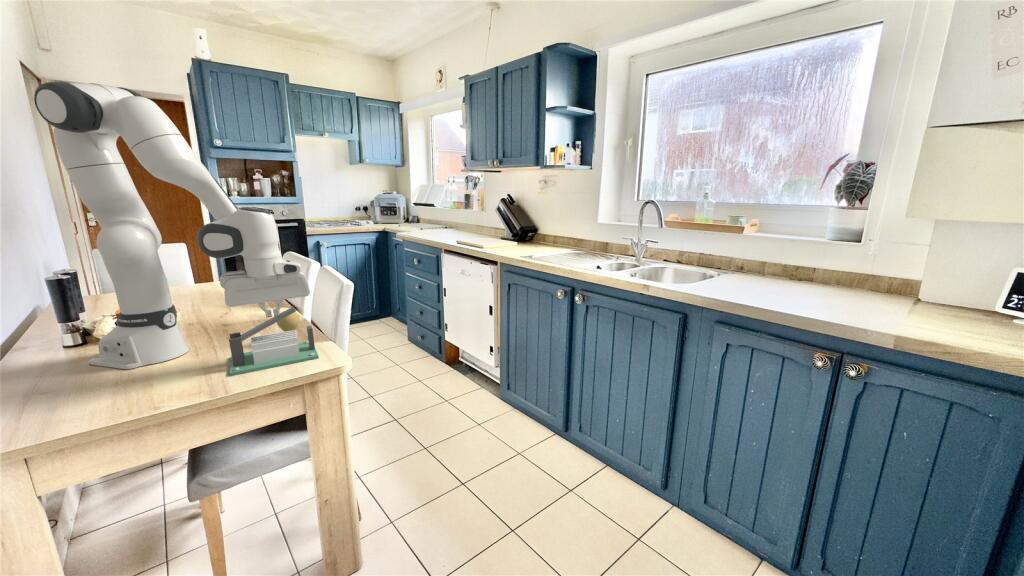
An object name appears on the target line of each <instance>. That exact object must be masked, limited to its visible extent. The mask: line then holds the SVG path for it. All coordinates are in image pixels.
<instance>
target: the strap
mask: <svg viewBox="0 0 1024 576" xmlns="http://www.w3.org/2000/svg"><path fill="white" fill-rule="evenodd" d="M294 312H296V313H297V310H296V308H295V307H294V306H291V307H289V308H287V309H286V310H284V312H283V311H281V312H280V316H272V317H270V319H268V320H266V321H264V322H262V323H261V324H259V325H256V326H255V327H253V328H251V329H249V330H247V331H246V332H243V333H241V335H240V336H238V338H239V337H240V341H241V342H242V343H243V341H245V340H247V339H248V338H251V337H253V336H254V335H256V334H258V333H260V332H261V331H263V330H265V329H266V328H268V327H271V326H272V325H274V324H277V322H278V321H280V320H281V319H283V318H285V317H287V316H289V315H290V314H292V313H294Z"/></svg>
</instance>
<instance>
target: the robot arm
mask: <svg viewBox="0 0 1024 576" xmlns="http://www.w3.org/2000/svg"><path fill="white" fill-rule="evenodd" d="M33 101H34V105H35V108H36V111H37V112H38V114H39V115H40V117H41V118H43V120H44V121H45V122H47V123H48V124H49V125H50V126H52V127H53V131H52V135H53V139H54V143H55V146H56V150H57V153H58V155H59V157H60V160H61V163H62V164H63V166H64V169H65V170H66V172H67V175H68V176H69V179H70V181H71V183H72V185H73V187H74V189H75V190H76V192H77V194H78V197H79V198H80V201H81V202H82V203H83V205H84V206H85V207H86V208H87V210H89V212H90V214H91V215H92V216H93V217H94V219H95V220H96V221H97V223H98V225H99V226H100V228H101V230H99V232H98V234H97V237H96V247H97V250H98V251H99V254H100V257H101V258H102V261H103V264H104V267H105V269H106V272H107V274H108V275H109V277H110V279H111V283H112V284H113V288H114V292H115V296H116V300H117V304H118V307H119V313H116V314H113V315H111V317H113V318H112V320H116V319H117V322H116V326H115V327H113V329H112V330H110V331H109V332H108V333H107V334H105V335H104V336H103V337H102V338H101V339H99V342H98V346H97V347H98V354H97V355H95V356H94V357H91V358H90V359H89V360H88V364H89V365H92V366H99V367H105V368H114V369H120V370H122V369H123V370H131V369H135V368H139V367H142V366H143V367H144V366H147V365H153V364H159V363H162V362H166V361H169V360H173V359H175V358H178V357H181V356H182V355H185V354H186V353H188V352H189V350H190V348H189V346H188V343H187V340H186V339H185V338H184V336H183V333H182V330H181V327H180V324H179V321H178V320H177V317H178V315H177V309H176V306H175V305H174V304H173V301H172V296H171V291H170V287H169V283H168V277H167V276H166V273H165V271H164V268H163V265H162V261H161V259H160V254H159V252H158V251H159V249H160V248H161V245H162V242H163V241H162V240H163V239H162V238H163V237H162V234H161V232H160V230H159V228H158V227H157V226H158V225H156V222H155V220H154V219H153V217H152V215H151V213H150V211H149V209H148V208H147V206H146V204H145V202H144V201H143V200H142V198H141V196H140V194H139V192H138V189H137V188H136V186H135V184H134V181H133V179H132V177H131V175H130V173H129V170H128V168H127V166H126V164H125V162H124V160H123V157H122V156H121V153H120V151H119V149H118V146H117V141H118V138H119V137H121V138H122V140H123V141H124V142H125V143H126V146H127V147H128V148H129V150H130V151H131V153H132V154H133V155H134V157H135V158H136V159H137V161H138V162H139V163H140V165H141V166H142V167H143V168H144V169H145V170H146V171H147V172H148V173H149V174H150V175H152V176H153V177H154V178H156V179H157V180H158V179H159V180H161V181H163V182H166V183H169V184H172V185H174V186H177V187H180V188H182V189H185V190H187V191H188V192H190V193H191V194H192V195H194V196H195V197H196V198H198V200H199V201H200V202H201V204H203V206H204V207H205V208H206V209H207V210H208V212H209V213H210V214H211V215H212V216H213V218H214V219H215V220H214V221H212V222H209V223H207V224H204V225H202V226H200V228H199V229H198V231H197V234H196V242H197V247H199V249H200V250H201V251H202V253H204V254H205V255H206V256H208V257H210V258H214V259H228V258H231V257H236V256H239V255H240V256H242V258H243V262H244V269H241V270H240V269H239V270H235V271H234V270H233V271H225V273H222V274H221V275H220V277H219V285H220V286H221V288H223V290H224V303H225V305H226V306H227V307H228V308H234V307H239V306H247V305H254V304H258V307H259V308H260V309H261V310H262V311H263V312H264V314H265V318H273V317H275V316H280V313H281V312H280V310H281V308H282V306H283V303H284V302H283V300H290V299H298V298H306V297H309V295H311V288H310V285H309V282H308V279H307V278H308V277H307V276H306V274H305V273H304V272H303V271H302V270H303V269H302V265H301V264H300V262H298V261H293V260H289V259H283V256H282V252H281V251H280V248H279V244H280V238H279V234H278V232H279V231H278V228H277V224H276V220H275V217H274V215H273V213H271V212H270V211H269V210H268V209H265V208H260V207H249V206H242V207H238V206H237V205H236V204H235V202H233V200H232V199H231V197H230V195H229V194H227V192H226V191H225V189H224V188H223V187H222V186H221V184H220V183H219V181H218V180H217V179H216V178H215V177H214V176H213V174H211V172H210V171H209V170H208V169H207V167H206V166H205V165H204V163H202V161H201V160H200V159H199V157H198V156H197V155H196V153H195V152H194V150H193V149H192V148H191V146H190V145H189V143H188V142H187V140H186V138H185V137H184V135H182V132H180V130H179V129H178V127H177V126H176V125H175V123H174V122H173V121H172V120H171V119H170V117H169V116H168V115H167V114H166V113H165V112H164V111H163V109H162V108H161V107H159V106H158V104H157V103H156V102H154V101H153V100H151V99H150V98H147V97H145V96H143V95H142V94H140V93H139V92H137V91H134V90H131V89H129V88H125V87H121V86H119V87H116V86H112V85H106V84H102V83H101V84H100V83H95V82H89V83H84V82H67V81H62V80H61V81H47V82H44V83H41V84H39V85H38V86H37V87H36V89H35V91H34V97H33ZM269 302H276V304H277V306H276V308H273V309H268V308H267V307H266V303H269ZM272 312H273V314H272Z"/></svg>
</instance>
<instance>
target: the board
mask: <svg viewBox="0 0 1024 576" xmlns="http://www.w3.org/2000/svg"><path fill="white" fill-rule="evenodd" d="M306 331H307V332H306V333H307V340H305V341H302V342H299V340H298V339H297V337H298V334H297V335H296V333H295V330H292V331H286V332H284V331H280V332H275V333H274V332H273V333H269V334H262V335H257V336H251V337H250V342H251V343H250V344H251V346H250V347H251V351H246V352H245V351H244V347H243V341H242V342H241V341H240V337H239V338H238V336H240V335H242V333H241V332H232V333H229V339H228V342H229V348H230V353H231V354H230V355H231V356H230V364H229V376H230V377H233V376H237V375H242V374H248V373H253V372H259V371H263V370H267V369H272V368H278V367H282V366H287V365H291V364H292V365H294V364H298V363H302V362H307V361H312V360H317V359H319V358H320V357H319V354H318V351H317V349H316V347H315V341H314V339H315V338H314V337H315V336H314V331H313V327H312V325H306Z"/></svg>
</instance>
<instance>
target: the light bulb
mask: <svg viewBox="0 0 1024 576" xmlns="http://www.w3.org/2000/svg"><path fill="white" fill-rule="evenodd" d="M284 311H285V310H284ZM284 311H282V312H284ZM300 322H301V318H300V314H299V313H298V312H297V311H296V312H294V313H292V314H290V315H289V316H287V317H285V318H283V319H281V320H280V321H278V322H276V324H277V326H278V328H279V329H281V330H282V332H286V331H292V330H295V333H296V335H297V340H298V339H299V338H298V337H299V336H298V331H297V328H298V327H299V326H300Z"/></svg>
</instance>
